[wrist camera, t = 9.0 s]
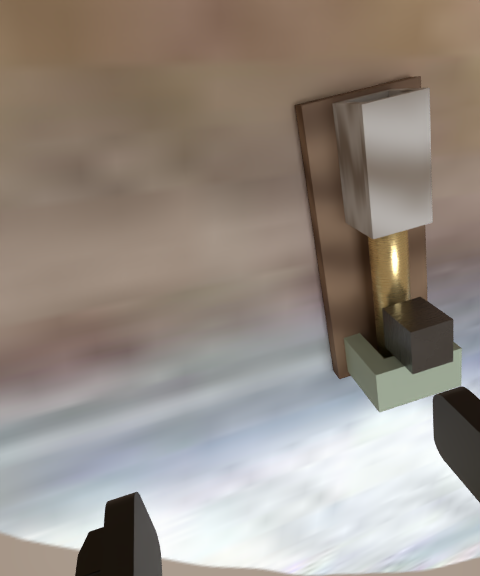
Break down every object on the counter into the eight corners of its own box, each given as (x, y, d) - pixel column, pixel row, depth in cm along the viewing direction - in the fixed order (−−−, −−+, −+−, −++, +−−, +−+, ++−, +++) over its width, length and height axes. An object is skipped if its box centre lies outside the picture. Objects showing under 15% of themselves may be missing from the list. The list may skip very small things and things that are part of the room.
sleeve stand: (295, 105, 35) (326, 106, 29) (410, 77, 36) (462, 73, 30) (333, 371, 46) (361, 410, 41) (420, 343, 48) (460, 378, 42)
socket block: (343, 337, 43) (375, 375, 37) (418, 315, 44) (461, 348, 38) (347, 371, 45) (379, 412, 39) (419, 348, 46) (461, 385, 40)
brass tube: (353, 180, 36) (403, 200, 29) (394, 169, 37) (453, 186, 30) (370, 351, 43) (413, 398, 37) (404, 340, 44) (453, 385, 37)
